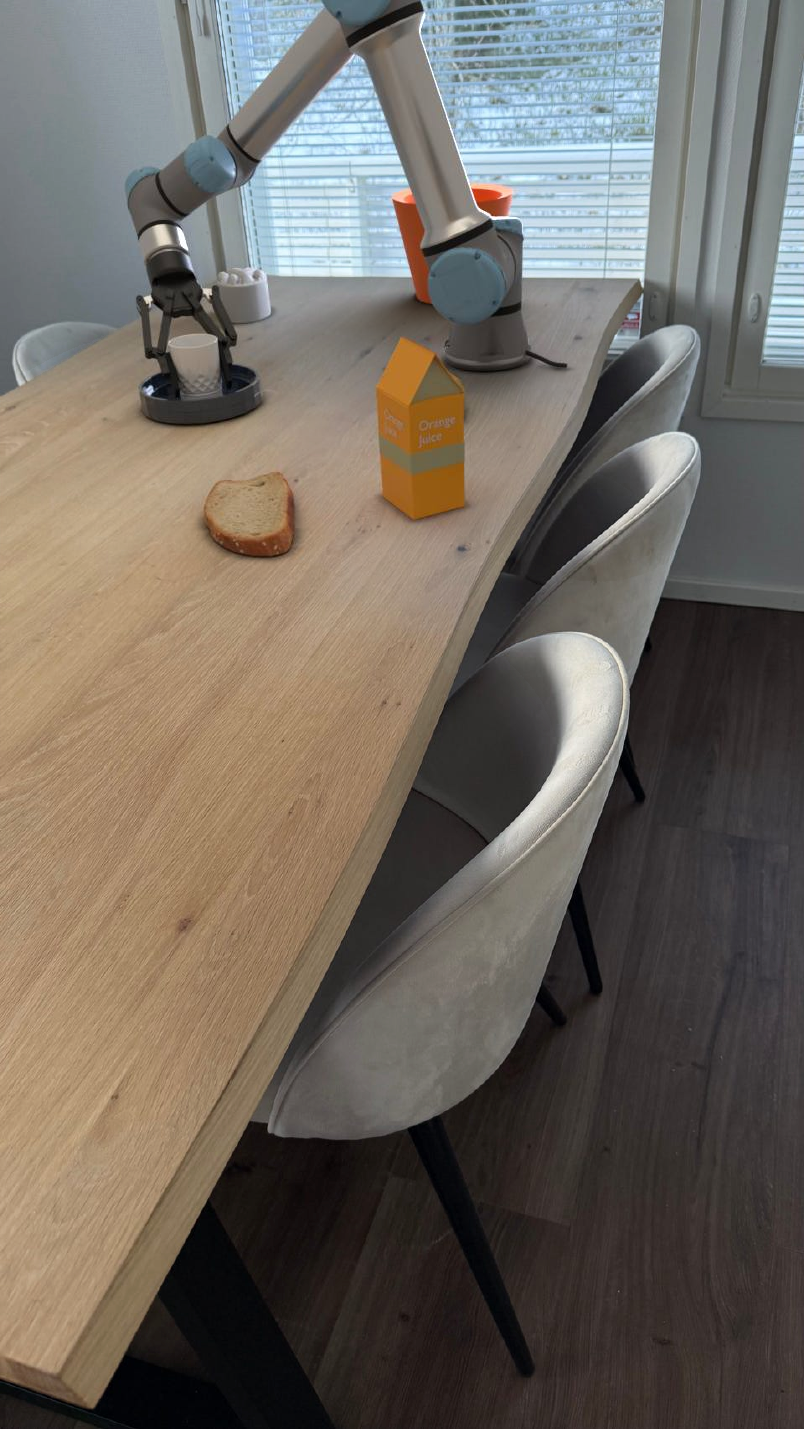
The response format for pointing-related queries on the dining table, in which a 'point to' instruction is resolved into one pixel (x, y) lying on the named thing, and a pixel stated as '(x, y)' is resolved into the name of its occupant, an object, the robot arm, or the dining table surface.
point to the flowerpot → (412, 229)
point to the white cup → (197, 365)
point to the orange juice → (420, 433)
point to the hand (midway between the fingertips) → (203, 389)
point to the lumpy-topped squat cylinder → (244, 294)
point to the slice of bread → (252, 515)
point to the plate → (174, 410)
